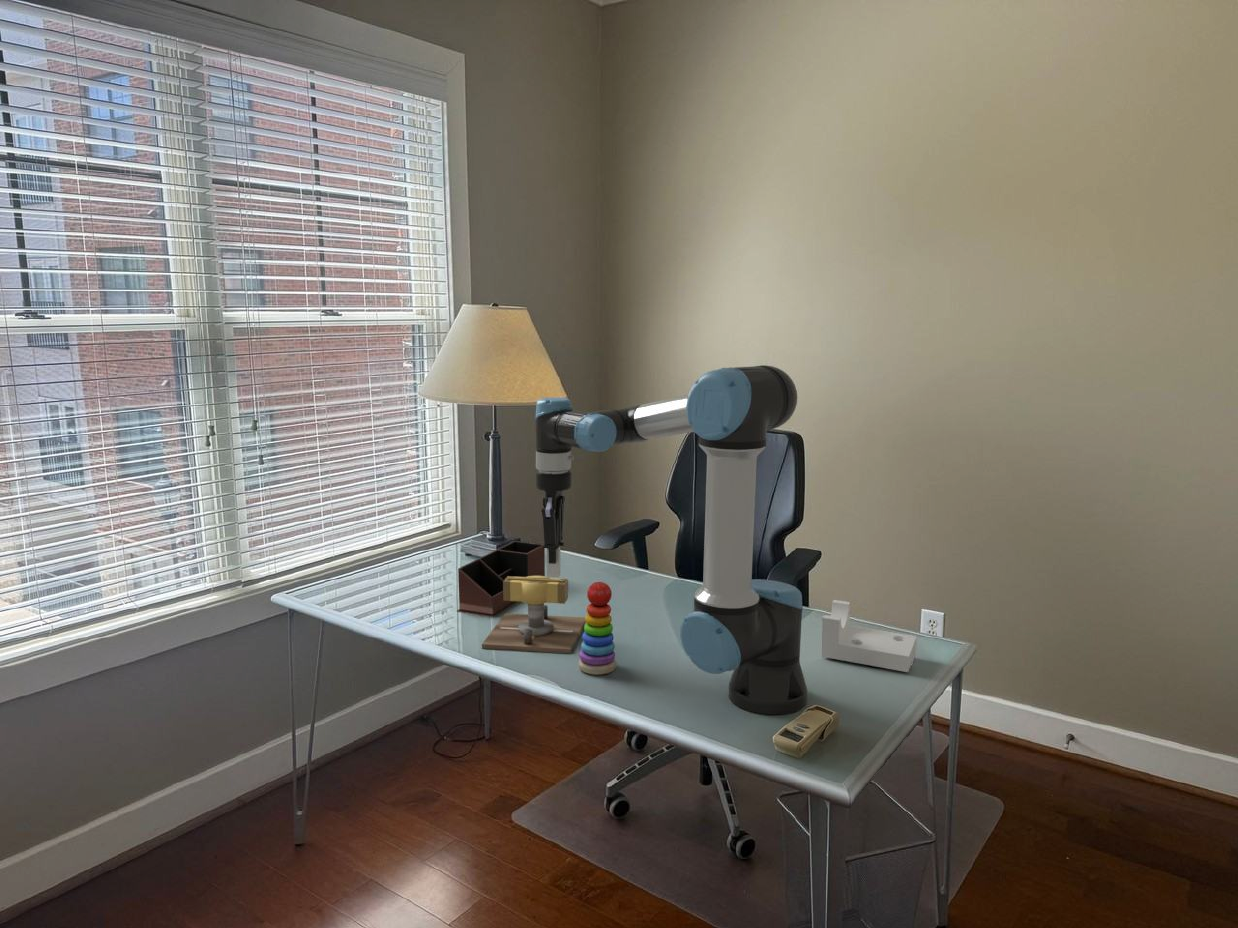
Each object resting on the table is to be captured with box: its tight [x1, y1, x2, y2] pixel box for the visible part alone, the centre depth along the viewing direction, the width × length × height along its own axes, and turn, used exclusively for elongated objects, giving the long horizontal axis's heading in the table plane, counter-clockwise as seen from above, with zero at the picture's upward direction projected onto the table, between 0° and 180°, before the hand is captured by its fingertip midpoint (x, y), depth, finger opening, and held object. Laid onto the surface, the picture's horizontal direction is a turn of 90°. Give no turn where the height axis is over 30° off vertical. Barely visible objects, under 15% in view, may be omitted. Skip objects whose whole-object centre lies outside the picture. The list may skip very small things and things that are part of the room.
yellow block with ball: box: [503, 575, 569, 605], centre depth 204 cm, size 14×7×5 cm, turn 82°
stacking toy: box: [577, 581, 617, 676], centre depth 185 cm, size 8×8×19 cm
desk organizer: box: [456, 540, 546, 618], centre depth 231 cm, size 10×29×11 cm, turn 158°
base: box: [481, 603, 586, 654], centre depth 205 cm, size 20×20×8 cm
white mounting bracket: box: [821, 599, 918, 673], centre depth 192 cm, size 18×10×10 cm, turn 63°
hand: (553, 575), depth 195 cm, fingers closed
